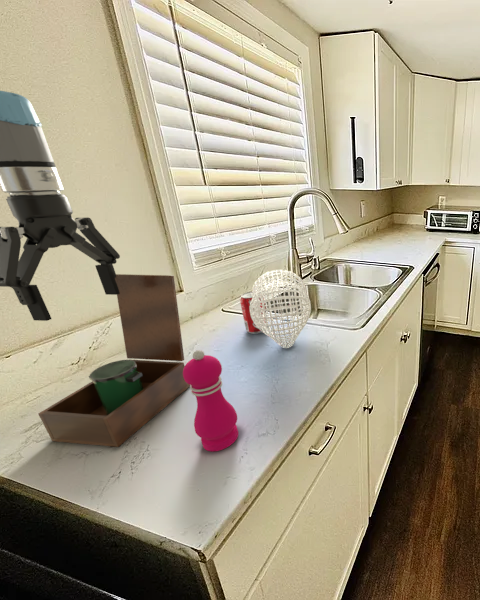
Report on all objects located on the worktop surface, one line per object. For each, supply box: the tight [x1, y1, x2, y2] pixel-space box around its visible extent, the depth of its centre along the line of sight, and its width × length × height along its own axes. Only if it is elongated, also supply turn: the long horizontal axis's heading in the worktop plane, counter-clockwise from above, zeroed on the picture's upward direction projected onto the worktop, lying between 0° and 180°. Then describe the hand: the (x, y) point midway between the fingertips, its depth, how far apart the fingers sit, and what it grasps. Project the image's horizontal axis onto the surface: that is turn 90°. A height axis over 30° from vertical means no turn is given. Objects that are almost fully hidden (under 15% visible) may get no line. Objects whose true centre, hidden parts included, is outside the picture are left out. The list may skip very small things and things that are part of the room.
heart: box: [250, 269, 312, 349], centre depth 95 cm, size 28×16×22 cm, turn 21°
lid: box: [115, 273, 185, 362], centre depth 77 cm, size 21×15×1 cm
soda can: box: [239, 291, 268, 335], centre depth 107 cm, size 7×7×13 cm
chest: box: [38, 359, 190, 448], centre depth 71 cm, size 20×15×7 cm
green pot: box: [88, 359, 144, 415], centre depth 70 cm, size 10×8×10 cm
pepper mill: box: [183, 349, 239, 452], centre depth 61 cm, size 7×7×20 cm
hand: (81, 305), depth 65 cm, fingers open, 13 cm apart
